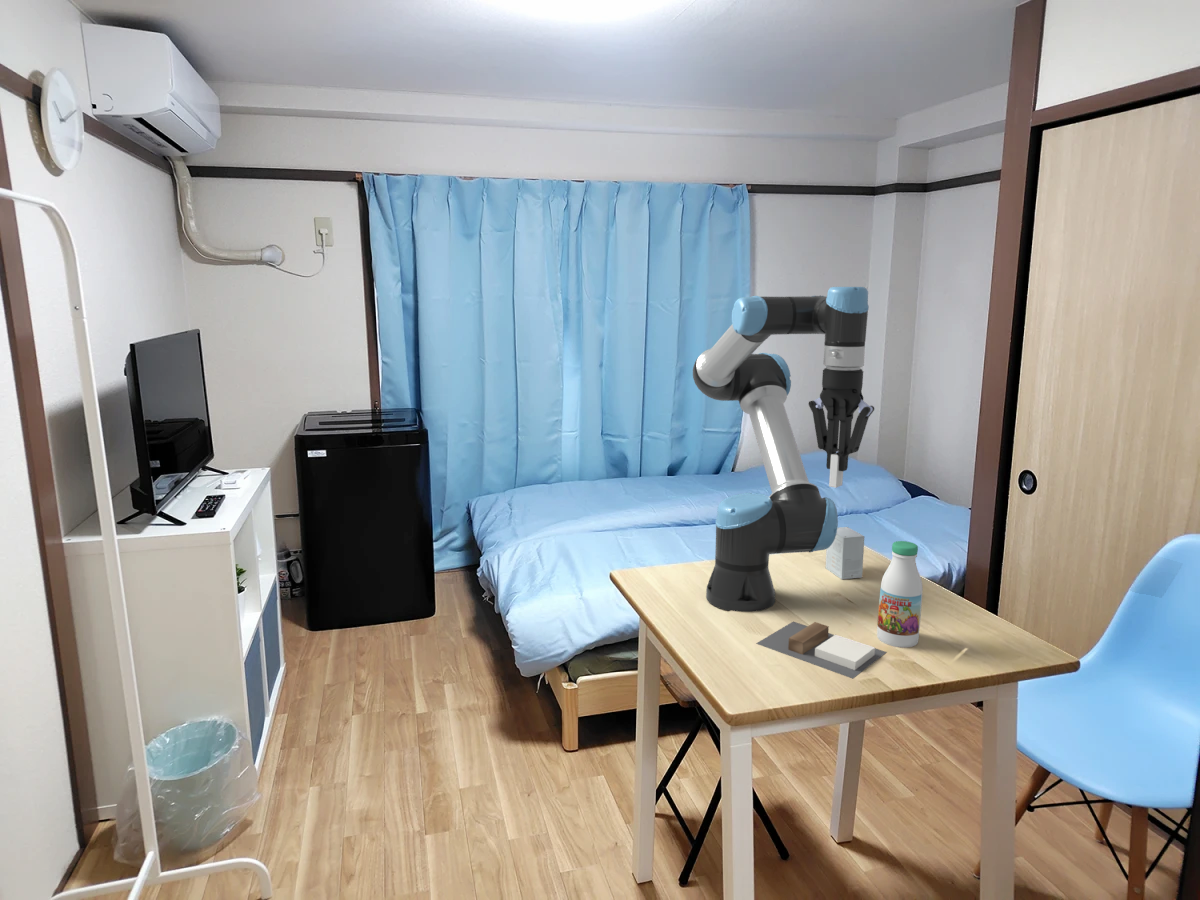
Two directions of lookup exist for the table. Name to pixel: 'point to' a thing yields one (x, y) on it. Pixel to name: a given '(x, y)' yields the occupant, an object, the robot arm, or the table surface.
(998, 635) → the table surface
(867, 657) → the tile
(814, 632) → the block
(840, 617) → the table surface
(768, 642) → the mat
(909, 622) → the milk bottle
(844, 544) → the small box
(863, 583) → the table surface
